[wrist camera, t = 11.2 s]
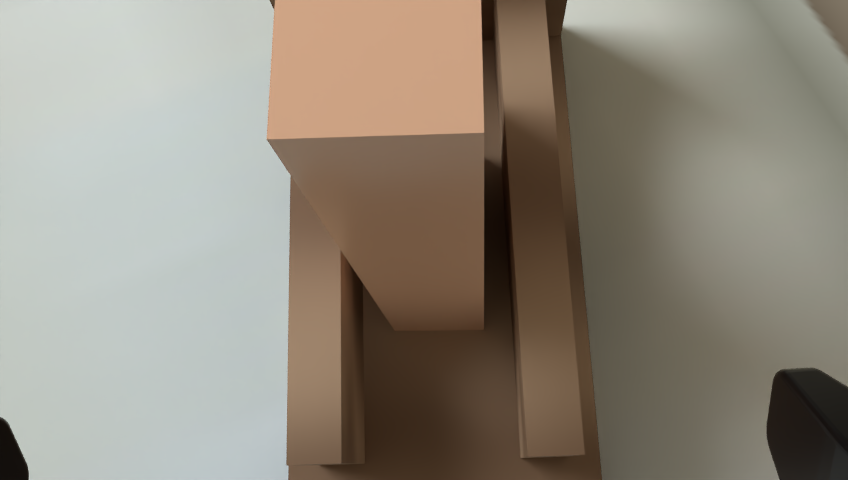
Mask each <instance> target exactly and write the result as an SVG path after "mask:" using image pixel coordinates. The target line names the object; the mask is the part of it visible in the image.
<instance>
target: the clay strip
mask: <svg viewBox="0 0 848 480" xmlns="http://www.w3.org/2000/svg"><path fill="white" fill-rule="evenodd" d="M267 140H268V142H269V143H270V145H271V146H272V148H273V149H274V151H275V152H276V154H277V155H278V157H279V158H280V160H281V161H282V163H283V164H284V166H285V167H286V169H287V170H288V172H289V173H290V175H291V176H292V178H293V179H294V181H295V182H296V184H297V185H298V187H299V188H300V190H301V191H302V193H303V194H304V196H305V197H306V199H307V200H308V202H309V203H310V205H311V206H312V208H313V209H314V211H315V212H316V214H317V215H318V217H319V218H320V220H321V221H322V223H323V224H324V226H325V227H326V229H327V230H328V232H329V233H330V235H331V236H332V238H333V239H334V241H335V242H336V244H337V245H338V247H339V248H340V250H341V251H342V253H343V254H344V256H345V257H346V259H347V260H348V262H349V263H350V265H351V266H352V268H353V269H354V271H355V272H356V274H357V275H358V277H359V278H360V280H361V281H362V283H363V284H364V286H365V287H366V289H367V290H368V292H369V293H370V295H371V296H372V298H373V299H374V301H375V302H376V304H377V305H378V307H379V308H380V310H381V311H382V313H383V314H384V316H385V317H386V319H387V320H388V322H389V323H390V325H391V326H392V328H393V329H394V331H438V330H484V103H483V60H482V18H481V0H275V8H274V25H273V42H272V59H271V76H270V93H269V110H268V127H267Z"/></svg>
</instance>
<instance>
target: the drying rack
mask: <svg viewBox="0 0 848 480" xmlns="http://www.w3.org/2000/svg"><path fill="white" fill-rule="evenodd" d="M270 2H271V4H272V6H273V8H275V0H270ZM566 3H567V0H481V18H482V60H483V103H484V330H438V331H394V329H393V328H392V326H391V325H390V323H389V322H388V320H387V319H386V317H385V316H384V314H383V313H382V311H381V310H380V308H379V307H378V305H377V304H376V302H375V301H374V299H373V298H372V296H371V295H370V293H369V292H368V290H367V289H366V287H365V286H364V284H363V283H362V281H361V280H360V278H359V277H358V275H357V274H356V272H355V271H354V269H353V268H352V266H351V265H350V263H349V262H348V260H347V259H346V257H345V256H344V254H343V253H342V251H341V250H340V248H339V247H338V245H337V244H336V242H335V241H334V239H333V238H332V236H331V235H330V233H329V232H328V230H327V229H326V227H325V226H324V224H323V223H322V221H321V220H320V218H319V217H318V215H317V214H316V212H315V211H314V209H313V208H312V206H311V205H310V203H309V202H308V200H307V199H306V197H305V196H304V194H303V193H302V191H301V190H300V188H299V187H298V185H297V184H296V182H295V181H294V179H293V178H292V176H291V186H290V255H289V325H288V395H287V465H289V477H288V480H602V475H601V464H600V453H599V442H598V432H597V421H596V410H595V399H594V388H593V378H592V367H591V356H590V345H589V334H588V324H587V313H586V302H585V291H584V281H583V270H582V259H581V248H580V237H579V227H578V216H577V205H576V194H575V183H574V173H573V162H572V151H571V140H570V129H569V119H568V108H567V97H566V86H565V75H564V65H563V54H562V43H561V31H562V26H563V20H564V15H565V9H566Z"/></svg>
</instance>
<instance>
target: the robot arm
mask: <svg viewBox="0 0 848 480" xmlns="http://www.w3.org/2000/svg"><path fill="white" fill-rule="evenodd" d="M767 440H768V445H769V448H770V452H771V455H772V458H773V461H774V464H775V467H776V470H777V473H778V476H779V479H780V480H848V387H847V386H845V385H844V384H842V383H840V382H839V381H837V380H835V379H834V378H832V377H831V376H829V375H827V374H826V373H824V372H822V371H820V370H818V369H816V368H796V369H782V370H780V371H779V372H777V373H776V375H775V377H774V379H773V385H772V392H771V399H770V406H769V413H768V420H767ZM0 480H29V472H28V466H27V463H26V461H25V459H24V457H23V454H22V452H21V450H20V448H19V446H18V443H17V441H16V439H15V437H14V435H13V432H12V430H11V428H10V426H9V424H8V422H7V421H6V420H4V419H3V418H2V417H0Z"/></svg>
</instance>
